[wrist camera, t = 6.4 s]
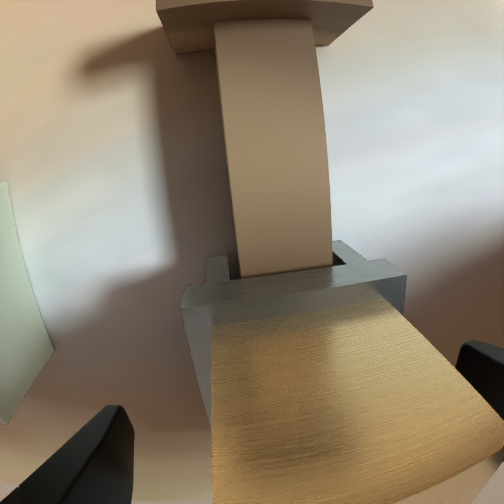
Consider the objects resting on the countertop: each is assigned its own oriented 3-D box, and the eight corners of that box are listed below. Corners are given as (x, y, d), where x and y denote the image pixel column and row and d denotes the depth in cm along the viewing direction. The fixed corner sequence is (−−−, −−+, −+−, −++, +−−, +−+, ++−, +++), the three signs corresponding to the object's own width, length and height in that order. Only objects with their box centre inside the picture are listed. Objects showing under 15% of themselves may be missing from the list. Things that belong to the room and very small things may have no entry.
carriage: (191, 258, 10) (144, 521, 2) (354, 238, 10) (555, 395, 2) (215, 385, 11) (227, 596, 4) (350, 362, 12) (448, 537, 4)
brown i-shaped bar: (173, 21, 8) (155, -30, 5) (323, 14, 8) (364, -32, 5) (231, 425, 13) (236, 487, 9) (338, 406, 13) (363, 462, 10)
